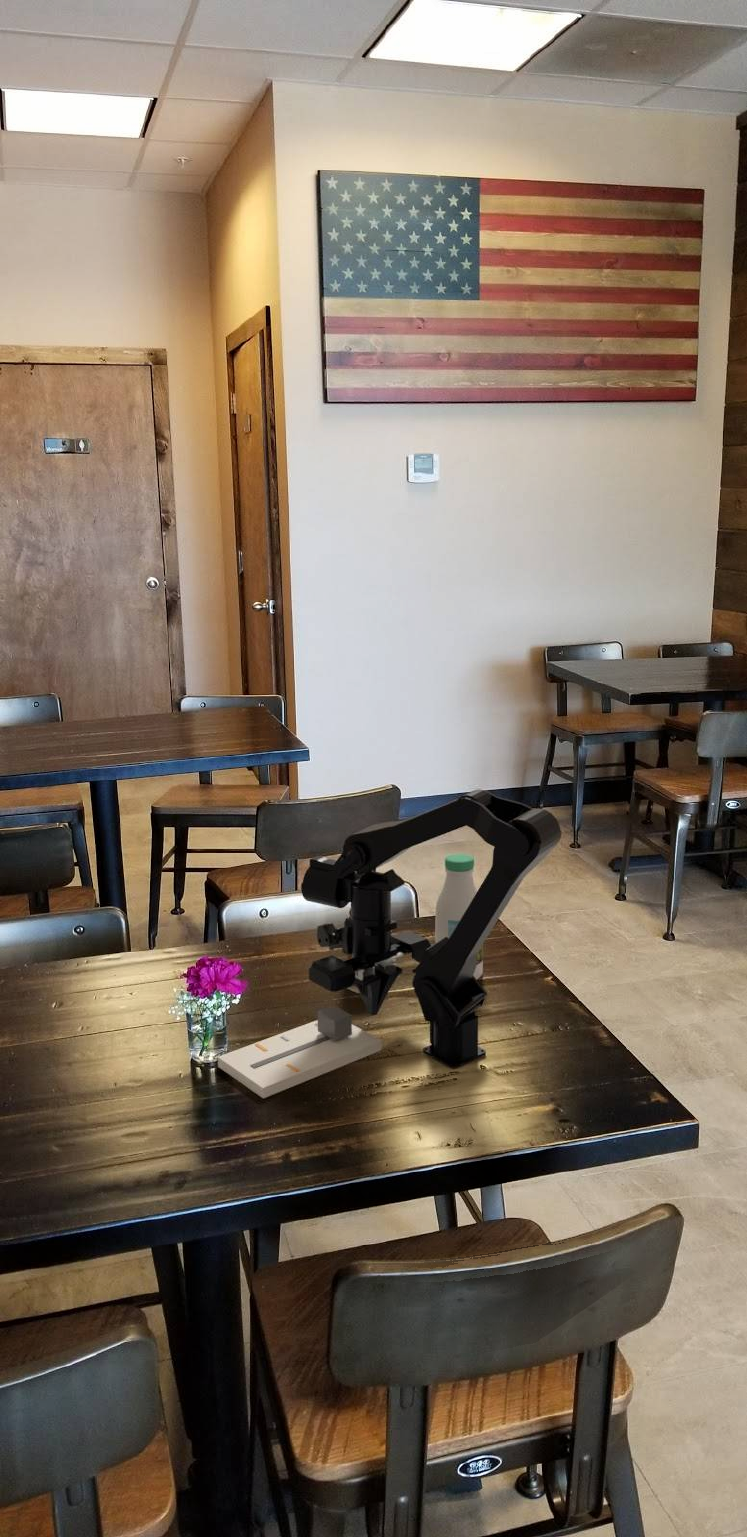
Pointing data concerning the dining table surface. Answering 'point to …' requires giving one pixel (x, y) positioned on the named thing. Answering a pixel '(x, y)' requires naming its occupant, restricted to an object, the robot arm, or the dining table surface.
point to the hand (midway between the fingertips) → (372, 1014)
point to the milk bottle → (456, 900)
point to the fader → (334, 1023)
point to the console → (295, 1058)
